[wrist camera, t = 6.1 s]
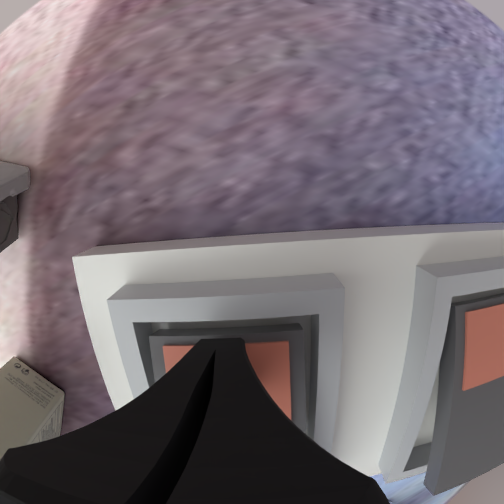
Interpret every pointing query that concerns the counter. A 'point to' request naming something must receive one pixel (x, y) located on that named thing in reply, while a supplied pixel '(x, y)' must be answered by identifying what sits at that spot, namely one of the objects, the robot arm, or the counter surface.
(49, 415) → the skincare box
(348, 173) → the counter surface
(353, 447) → the breaker panel
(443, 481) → the rocker
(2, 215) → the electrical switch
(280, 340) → the rocker
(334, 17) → the counter surface
